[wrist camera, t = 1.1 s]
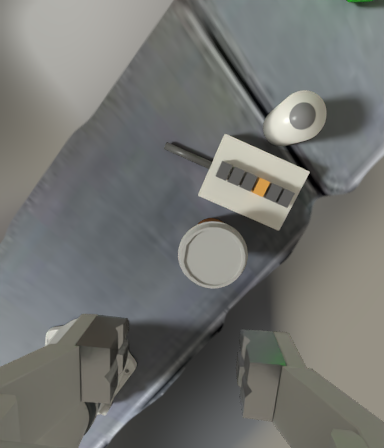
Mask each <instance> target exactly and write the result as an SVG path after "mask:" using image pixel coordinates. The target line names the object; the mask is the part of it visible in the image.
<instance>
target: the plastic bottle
mask: <svg viewBox="0 0 384 448" xmlns="http://www.w3.org/2000/svg"><path fill="white" fill-rule="evenodd" d="M347 1H348V2H368V1H373V0H347Z"/></svg>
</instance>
